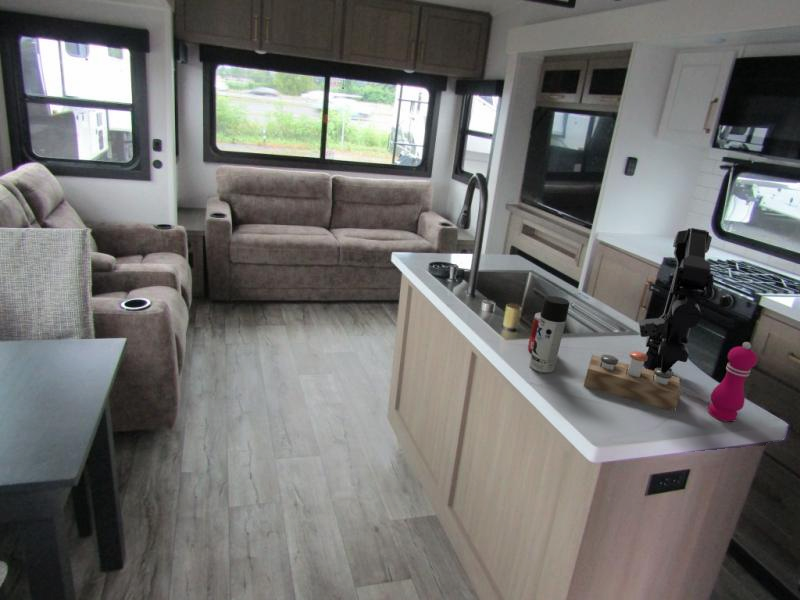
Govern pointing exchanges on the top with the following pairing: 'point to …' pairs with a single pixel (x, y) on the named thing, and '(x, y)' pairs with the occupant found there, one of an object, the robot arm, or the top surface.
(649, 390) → the socket board
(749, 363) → the pepper mill
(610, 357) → the plug
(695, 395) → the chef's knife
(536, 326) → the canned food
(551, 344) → the spray can
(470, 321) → the top surface
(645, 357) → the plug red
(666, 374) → the plug
